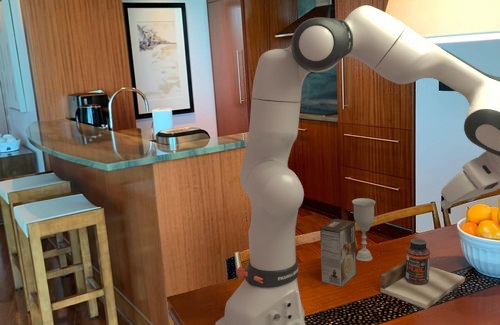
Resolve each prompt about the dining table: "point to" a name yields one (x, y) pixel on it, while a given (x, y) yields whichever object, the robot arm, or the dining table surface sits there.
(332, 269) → the coffee box
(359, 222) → the chalice
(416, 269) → the supplement bottle
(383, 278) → the edge board
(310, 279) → the dining table surface
